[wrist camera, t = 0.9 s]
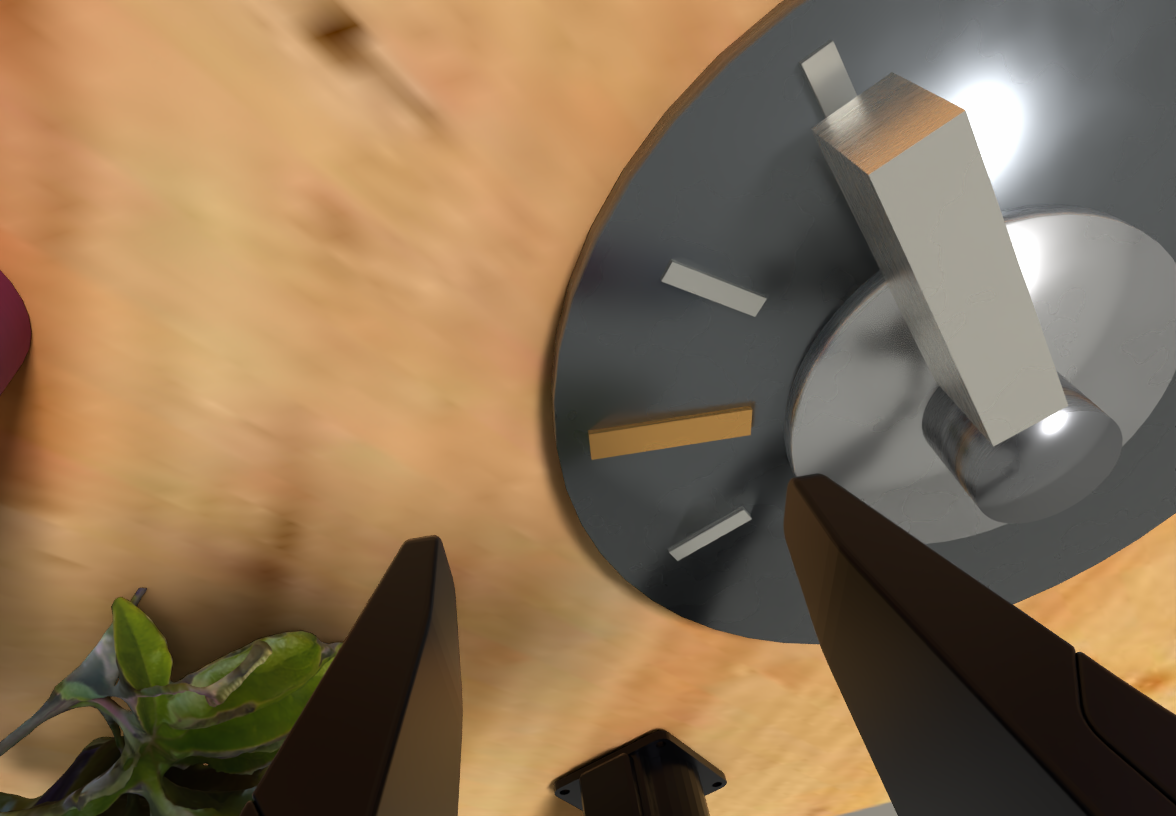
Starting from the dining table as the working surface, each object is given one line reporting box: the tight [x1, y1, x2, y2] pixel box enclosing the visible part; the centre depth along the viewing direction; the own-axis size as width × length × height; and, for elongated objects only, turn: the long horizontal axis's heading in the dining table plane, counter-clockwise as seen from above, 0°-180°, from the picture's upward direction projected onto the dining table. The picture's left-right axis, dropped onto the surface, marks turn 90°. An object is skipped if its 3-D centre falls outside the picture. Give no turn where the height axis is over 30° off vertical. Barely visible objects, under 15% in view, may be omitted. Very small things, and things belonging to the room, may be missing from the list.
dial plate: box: [551, 0, 1176, 644], centre depth 24 cm, size 26×26×1 cm
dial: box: [784, 72, 1176, 544], centre depth 21 cm, size 17×12×4 cm
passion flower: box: [0, 588, 343, 816], centre depth 25 cm, size 11×11×12 cm
